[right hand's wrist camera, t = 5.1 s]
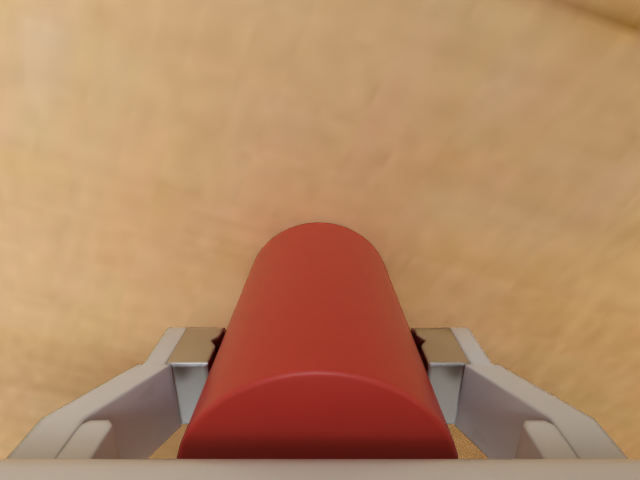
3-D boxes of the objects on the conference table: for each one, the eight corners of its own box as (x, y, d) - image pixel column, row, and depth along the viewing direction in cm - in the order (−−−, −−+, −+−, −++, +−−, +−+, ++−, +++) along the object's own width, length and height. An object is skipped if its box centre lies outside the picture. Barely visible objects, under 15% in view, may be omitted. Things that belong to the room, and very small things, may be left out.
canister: (253, 214, 13) (170, 356, 6) (399, 230, 13) (496, 387, 6) (246, 338, 15) (176, 567, 7) (375, 350, 15) (426, 584, 8)
